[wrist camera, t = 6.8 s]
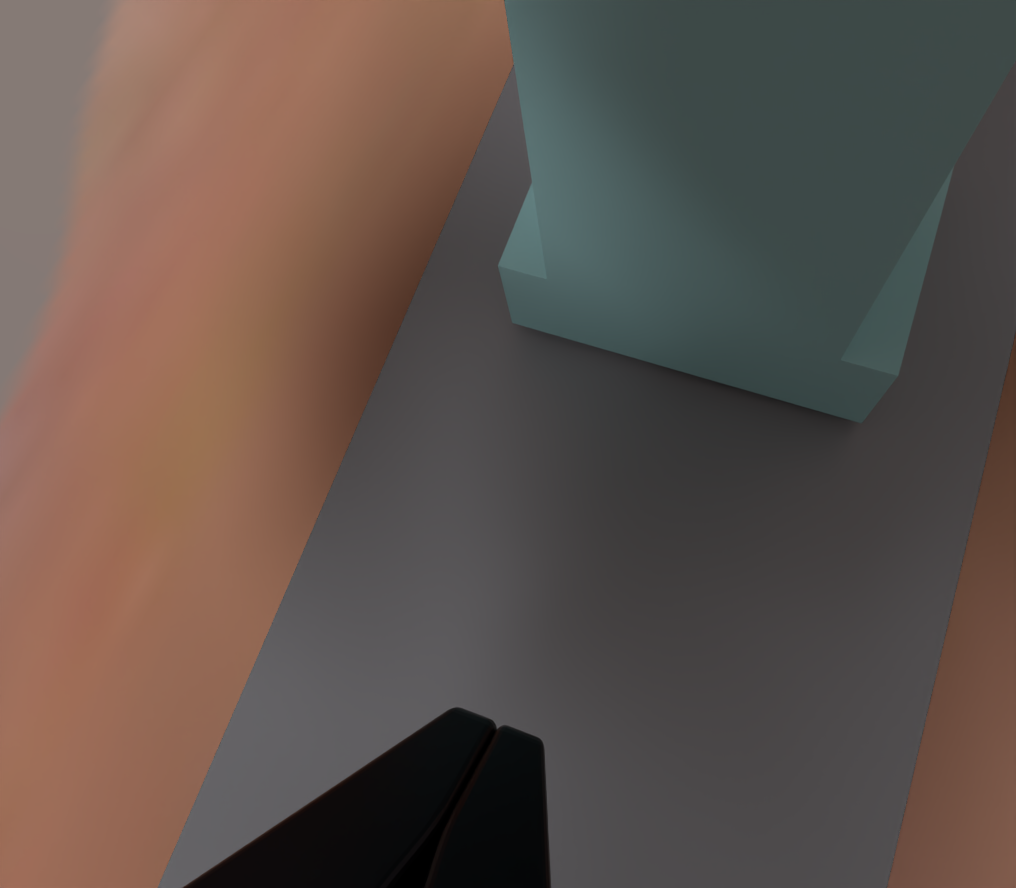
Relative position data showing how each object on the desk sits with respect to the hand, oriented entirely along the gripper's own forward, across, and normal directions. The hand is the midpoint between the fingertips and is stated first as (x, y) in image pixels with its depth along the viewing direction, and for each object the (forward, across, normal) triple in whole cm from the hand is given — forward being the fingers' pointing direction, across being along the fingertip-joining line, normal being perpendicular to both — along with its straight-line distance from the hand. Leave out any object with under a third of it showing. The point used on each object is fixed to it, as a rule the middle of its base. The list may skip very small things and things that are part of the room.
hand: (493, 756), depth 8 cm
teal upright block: (+12, 0, -4) cm, 12 cm away
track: (+10, 0, 0) cm, 10 cm away
